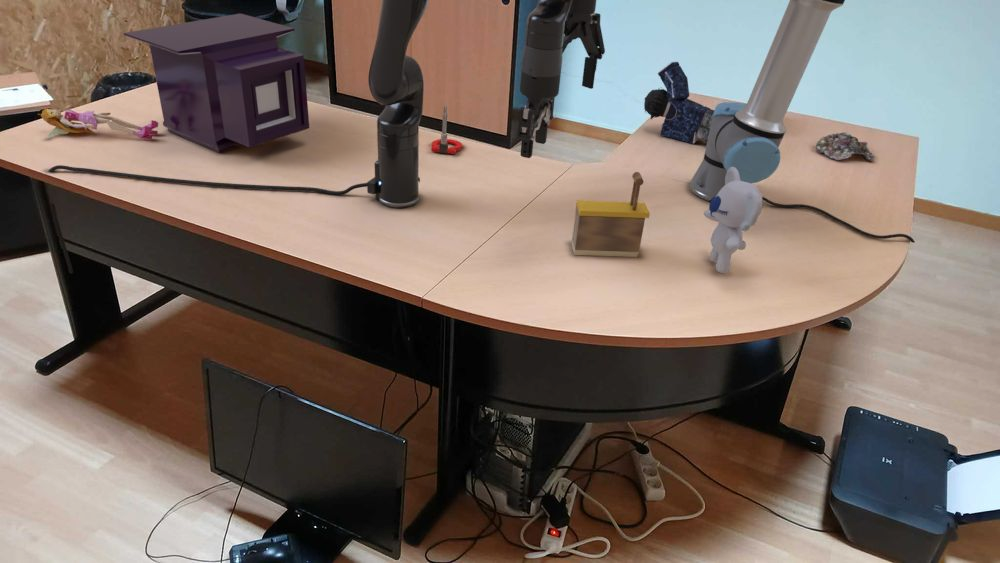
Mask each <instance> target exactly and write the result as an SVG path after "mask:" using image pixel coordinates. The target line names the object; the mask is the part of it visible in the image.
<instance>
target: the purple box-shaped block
mask: <svg viewBox="0 0 1000 563" xmlns="http://www.w3.org/2000/svg"><path fill="white" fill-rule="evenodd" d="M294 31H295V28H294V27H292V26H287V25H283V24H279V23H276V22H272V21H269V20H264V19H262V18H259V17H256V16H255V17H254V16H252V15H247V14H244V13H235V14H230V15H224V16H217V17H212V18H205V19H200V20H194V21H188V22H181V23H175V24H169V25H163V26H157V27H151V28H146V29H145V28H144V29H139V30H134V31H128V32H123V36H125V37H127V38H130V39H133V40H136V41H138V42H142V43H145V44H148V45H149V50H150V54H151V60H152V66H153V71H154V75H155V76H154V77H155V82H156V87H157V92H158V97H159V102H160V107H161V113H162V118H163V122H162V126H163V127H165V128H166V129H167V131H168V132H170V133H172V134H175V135H177V136H179V137H182V138H184V139H187V140H189V141H191V142H193V143H196V144H197V145H200V146H203V147H205V148H207V149H209V150H212V151H215V152H217V153H219V154H220V153H224V152H227V151H229V150H233V149H235V148H237V144H240V145H242V146H245V147H247V148H249V149H250V148H253V147H256V146H259V145H262V144H266V143H269V142H271V141H275V140H278V139H281V138H285V137H287V136H289V135H293V134H296V133H300V132H302V131H305V130H308V129H310V118H309V105H308V94H307V93H308V92H307V80H306V79H307V78H306V68H305V56H304V54H303V53H302V54H301V53H297V52H296V51H295V52H294V51H291V50H288V49H285V48H282V47H279V44H278V40H277V38H280V37H282V36H286V35H287V34H291V33H292V32H294Z"/></svg>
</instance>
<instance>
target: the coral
mask: <svg viewBox="0 0 1000 563" xmlns="http://www.w3.org/2000/svg"><path fill="white" fill-rule="evenodd" d="M815 150H816V151H817V152H818V153H824V155H825V156H827V157H828V158H830V159H832V160H835V161H839V160H840V161H841V160H844V159H848V158H851V157H852V155H853V154H854V155H857V154H859V155H860V156H861V158H863V159H865V160H866V161H871V162H874V160H875V159H874V158H875V155H874V154H873V153H872V152H871V151H870V149H869V147H868V142H867V141H859V139H858V137H855V136H853V135H852V134H851V133H849V132H848V131H846V132H844V131H843V132H836V133H830V134H827V135H826V136H822V137H820V138H819V140H818V141H817V142H816V144H815ZM873 157H874V158H873Z"/></svg>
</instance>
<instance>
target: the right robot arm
mask: <svg viewBox="0 0 1000 563" xmlns="http://www.w3.org/2000/svg"><path fill="white" fill-rule="evenodd" d="M845 1H846V0H789V1H788V4H787V6H786V9H785V11H784V13H783V15H782V18H781V20H780V23H779V26H778V28H777V30H776V33H775V35H774V37H773V40H772V42H771V45H770V47H769V49H768V52H767V54H766V58H765V59H764V61H763V63H762V66H761V69H760V71H759V73H758V76H757V78H756V80H755V83H754V86H753V88H752V91H751V93H750V96H749V98H748V100H747V103H744V102H737V101H736V102H733V101H725V102H720V103H718V104H717V105H716V106H714V109H713V110H714V114H713V115H712V117H713V118H712V122H711V127H710V131H709V136H708V141H707V142H706V145H705V150H704V154H703V159H702V161H701V163H700V165H699V166H698V168H697V169H696V171H695V173H694V174H693V176H692V179H691V181H690V184H689V189H690V191H691V193H693V194H694V196H696V197H698V198H700V199H702V200H704V201H707V202H710V200H711V199H712V198H713V197H714V196H715V195H716V196H717V194H718V193H719V191H720V190H721V189H722V188H723V187H724V186H725V177H726V173H727V171H728V169H729V168H731V167H735V168H736V169H737V170H738V172H739V176H740V181H744V182H748V183H751V184H757V183H760V182H762V181H765V180H767V179H768V178H770V177H771V176H772V175H773V174H774V173H775V172H776V171H777V169H778V167H779V166H780V162H781V151H780V148H779V147H780V145H781V143H782V141H783V138H784V136H785V133H786V132H787V127H786V125H785V123H784V119H785V116H786V114H787V112H788V110H789V108H790V106H791V103H792V101H793V98H794V96H795V94H796V92H797V91H798V90H797V89H798V88H799V85H800V84H801V80H802V78H803V76H804V74H805V72H806V69H807V68H808V65H809V63H810V60H811V58H812V56H813V54H814V52H815V49H816V47H817V45H818V43H819V40H820V38H821V37H822V34H823V32H824V29H825V28H826V24H827V22H828V20H829V18H830V15H831V14H832V12H833V11H834V10H837V9H839V8H840V7H842V6H844V3H845ZM596 8H597V0H572V3H571V6H570V9H569V12H568V15H567V18H566V21H565V25H564V37H563V46H562V55H564V52H565V50H566V49H567V47H568V45H569V44H571V43H572V42H573V41H575V40H578V39H580V41H581V43H582V45H583V48H584V50H585V52H586V54H587V56H585V57H584V65H583V72H582V73H583V74H582V81H581V82H582V83H581V87H584V88H587V89H591V90H592V89H594V83H595V77H596V71H597V66H598V60H602V59H603V56H604V55H605V53H606V49H605V43H604V38H603V33H602V32H603V31H602V27H601V14H600V13H598V12H596ZM716 196H715V197H716ZM715 197H714V198H715ZM762 201H764V202H765V203H767V204H770V205H771V206H773V207H777V208H785V209H787V208H788V209H789V208H790V209H791V208H803V209H809V210H813V211H815V212H818V213H820V214H823V215H825V216H826V217H828V218H830V219H831V220H833V221H835V222H838V223H839V224H841V225H844V226H846V227H847V228H848V229H851V230H853V231H854V232H857V233H859V234H861V235H863V236H866V237H870V238H872V239H878V240H882V239H883V240H886V239H894V238H905V239H907V240H908V241H909V242H910V243H916V241H915V239H914V238H913V237H912V236H910V235H909V234H905V233H893V234H888V235H887V234H886V235H885V234H884V235H878V234H873V233H870V232H867V231H864V230H861V229H860V228H859V227H856V226H854V225H852V224H850V223H848V222H846V221H844V220H843V219H840V218H838V217H837V216H834V215H832V214H831V213H829V212H827V211H826V210H823V209H821V208H818V207H816V206H814V205H813V206H812V205H809V204H799V203H798V204H796V203H795V204H782V203H776V202H774V201H771V200H769V199H768V198H766V197H765V196H762Z"/></svg>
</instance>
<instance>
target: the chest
mask: <svg viewBox="0 0 1000 563" xmlns="http://www.w3.org/2000/svg"><path fill="white" fill-rule="evenodd" d="M645 221H646V218H631V217H603V216H580V215H579V212H578V209H577V205H576V206H575V214H574V222H573V229H572V236H571V248H572V251H573V255H574V256H597V257H624V258H625V257H627V258H631V257H632V258H639V254H640V248H641V244H642V238H643V233H644V227H645Z"/></svg>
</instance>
